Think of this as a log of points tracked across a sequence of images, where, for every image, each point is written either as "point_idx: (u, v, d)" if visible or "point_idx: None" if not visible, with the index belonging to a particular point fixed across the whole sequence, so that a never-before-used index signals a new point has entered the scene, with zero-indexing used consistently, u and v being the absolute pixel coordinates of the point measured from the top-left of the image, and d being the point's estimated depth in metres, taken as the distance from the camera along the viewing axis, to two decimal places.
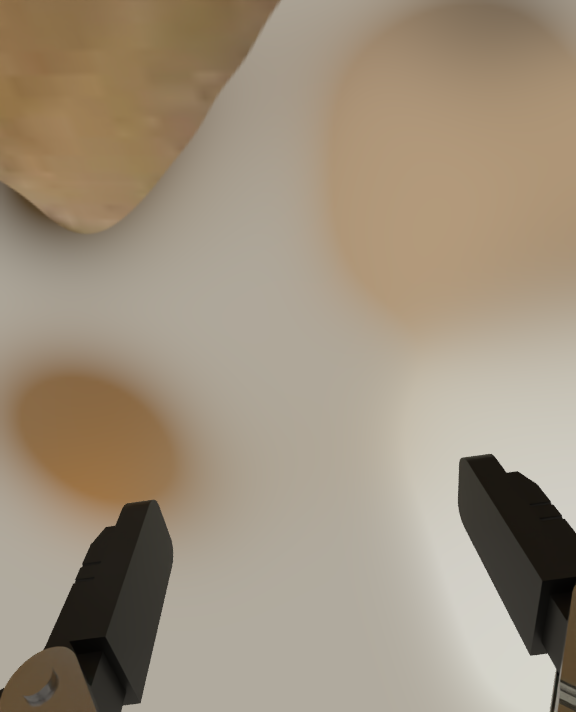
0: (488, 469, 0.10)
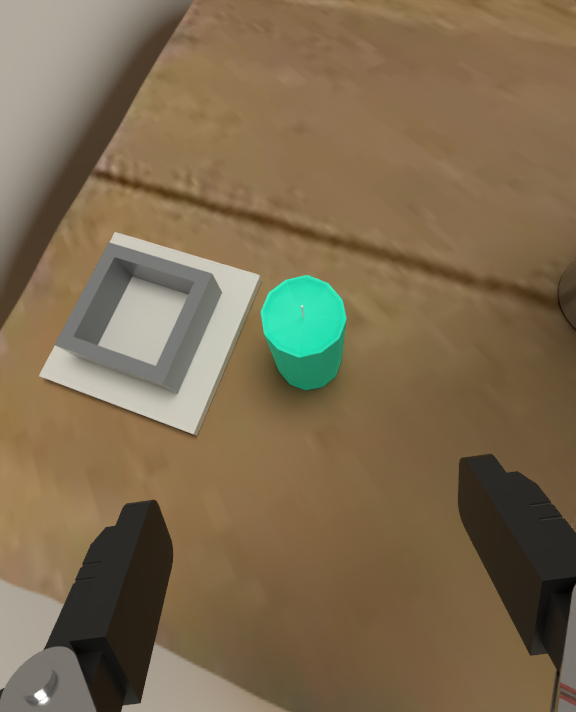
0: (488, 469, 0.10)
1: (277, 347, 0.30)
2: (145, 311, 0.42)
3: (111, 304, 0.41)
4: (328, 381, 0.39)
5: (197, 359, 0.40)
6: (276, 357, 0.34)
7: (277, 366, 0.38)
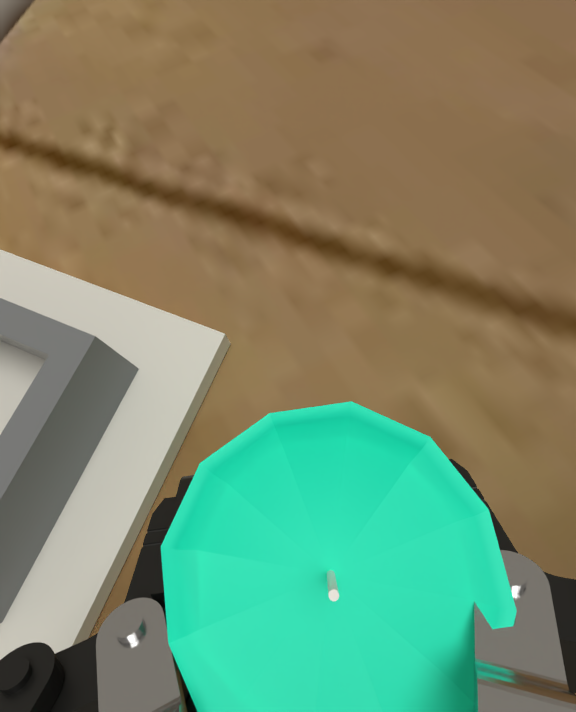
0: None
1: None
2: None
3: None
4: None
5: (62, 532, 0.17)
6: None
7: None
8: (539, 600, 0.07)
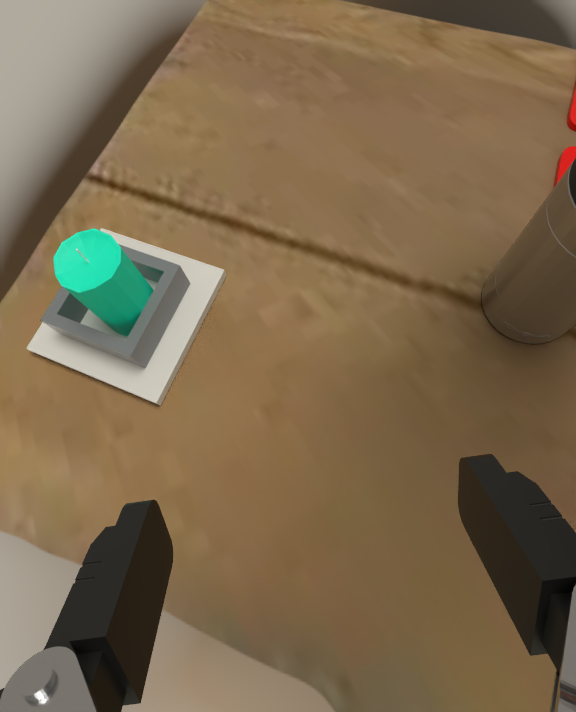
0: (488, 469, 0.10)
1: (62, 284, 0.37)
2: None
3: None
4: None
5: (164, 340, 0.46)
6: None
7: None
8: None
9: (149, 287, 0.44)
